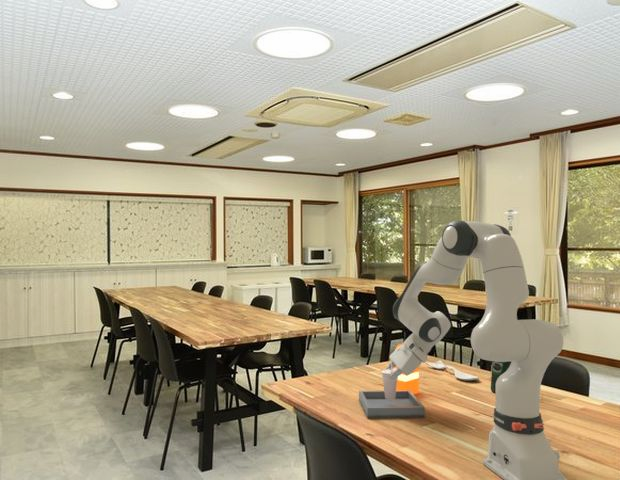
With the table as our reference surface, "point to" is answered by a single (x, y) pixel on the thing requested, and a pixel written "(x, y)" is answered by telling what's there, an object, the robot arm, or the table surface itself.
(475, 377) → the spoon
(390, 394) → the smoothie
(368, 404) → the tray
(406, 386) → the orange juice
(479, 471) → the table surface
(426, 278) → the robot arm
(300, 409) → the table surface
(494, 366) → the coffee jar
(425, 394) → the table surface
